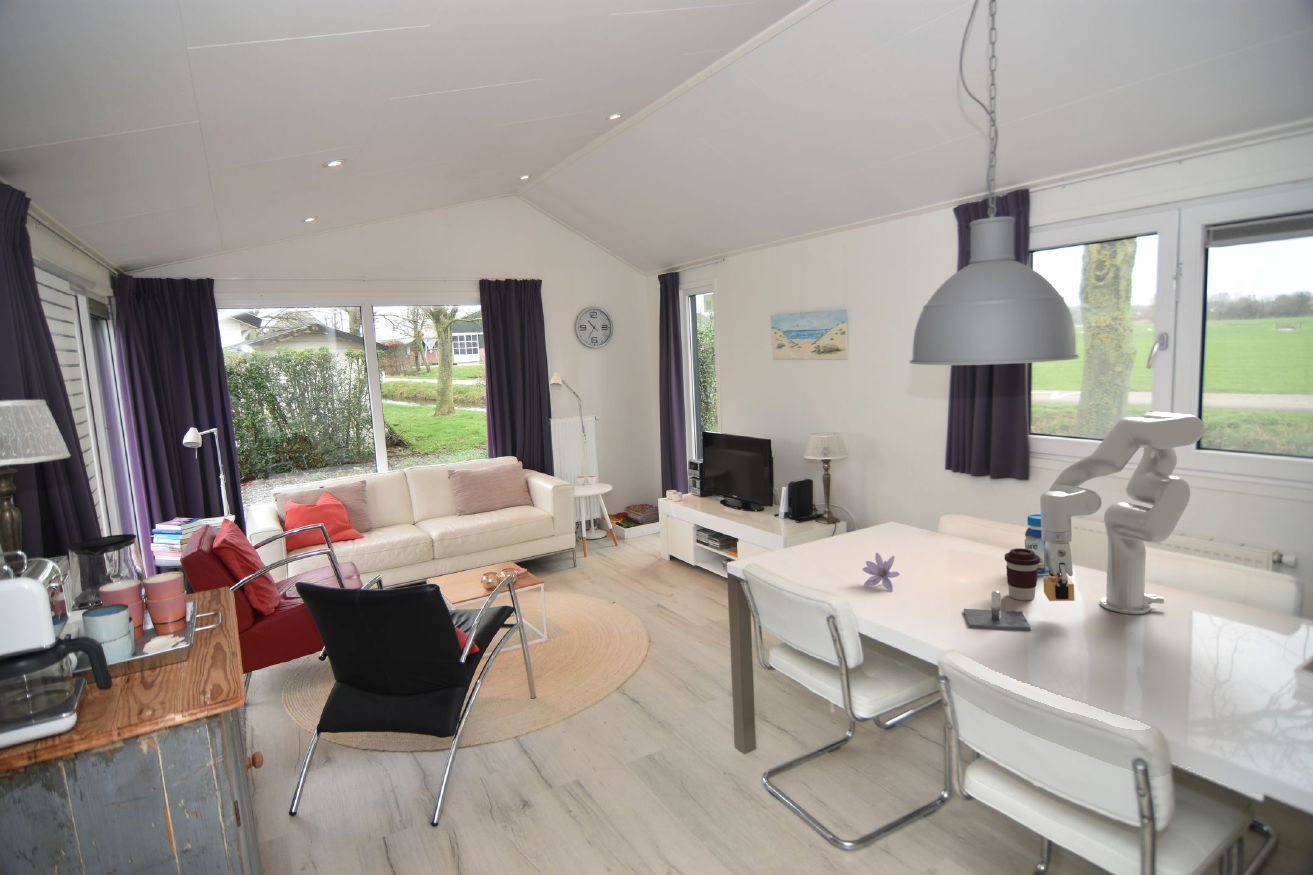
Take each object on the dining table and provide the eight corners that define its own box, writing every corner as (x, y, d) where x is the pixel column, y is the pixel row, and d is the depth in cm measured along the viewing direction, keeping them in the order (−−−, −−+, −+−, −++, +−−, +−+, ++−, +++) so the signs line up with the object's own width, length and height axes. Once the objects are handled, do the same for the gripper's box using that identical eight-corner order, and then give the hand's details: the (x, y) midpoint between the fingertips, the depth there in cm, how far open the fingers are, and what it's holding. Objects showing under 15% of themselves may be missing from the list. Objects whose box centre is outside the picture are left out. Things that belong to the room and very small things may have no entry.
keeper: (1021, 614, 210) (1021, 584, 209) (1030, 630, 199) (1031, 599, 197) (963, 611, 215) (963, 582, 213) (969, 627, 203) (969, 596, 202)
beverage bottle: (1056, 575, 240) (1057, 518, 237) (1031, 576, 240) (1032, 519, 238) (1043, 567, 248) (1044, 512, 246) (1019, 569, 249) (1020, 513, 246)
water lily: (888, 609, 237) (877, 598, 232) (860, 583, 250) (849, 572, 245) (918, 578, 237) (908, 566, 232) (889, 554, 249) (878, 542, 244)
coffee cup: (1044, 602, 218) (1044, 556, 216) (1009, 602, 220) (1009, 555, 218) (1033, 591, 227) (1034, 546, 225) (1000, 591, 229) (1000, 546, 227)
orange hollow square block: (1068, 592, 207) (1067, 575, 206) (1074, 600, 200) (1073, 584, 200) (1043, 592, 208) (1043, 576, 208) (1049, 600, 202) (1048, 584, 202)
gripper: (1080, 543, 192) (1082, 605, 195) (1062, 525, 209) (1065, 582, 211) (1049, 544, 195) (1052, 606, 197) (1034, 526, 211) (1037, 583, 214)
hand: (1058, 593), depth 204 cm, fingers closed on orange hollow square block, 6 cm apart
